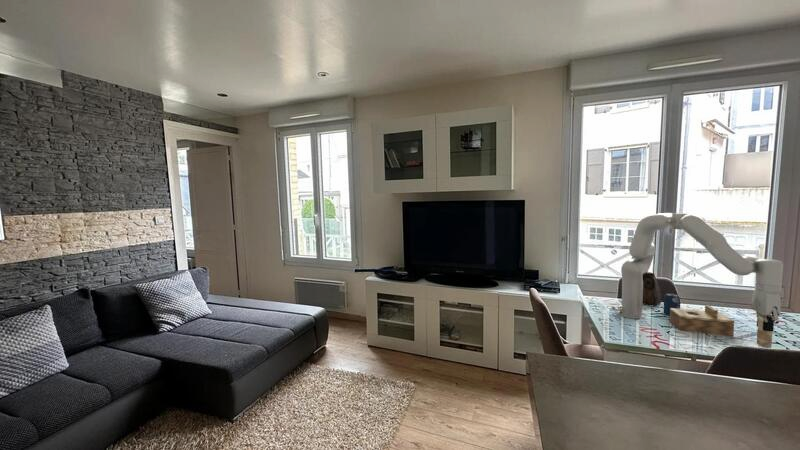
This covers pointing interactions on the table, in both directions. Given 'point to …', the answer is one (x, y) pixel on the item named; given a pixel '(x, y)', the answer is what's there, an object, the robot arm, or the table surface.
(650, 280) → the owl
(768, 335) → the block
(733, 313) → the table surface
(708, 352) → the table surface
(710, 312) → the lid
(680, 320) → the wooden box with slot
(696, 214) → the robot arm
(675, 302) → the soda can
